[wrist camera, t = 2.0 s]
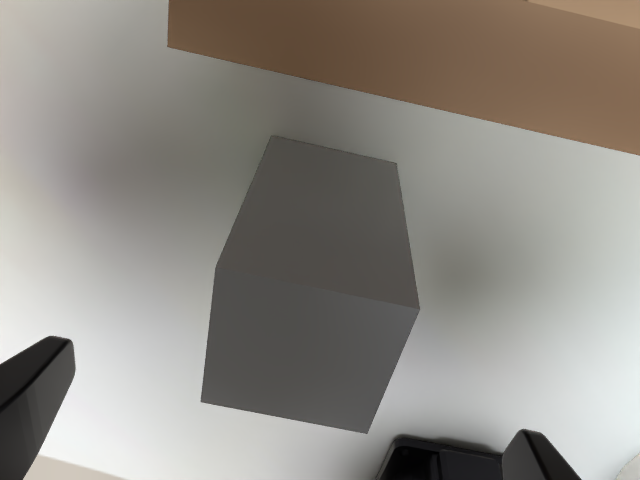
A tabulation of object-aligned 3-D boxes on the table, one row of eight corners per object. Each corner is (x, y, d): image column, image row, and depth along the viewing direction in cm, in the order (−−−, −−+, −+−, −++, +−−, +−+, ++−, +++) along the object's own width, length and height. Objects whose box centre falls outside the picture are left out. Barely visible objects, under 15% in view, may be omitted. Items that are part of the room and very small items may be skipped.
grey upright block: (364, 263, 17) (367, 433, 12) (254, 240, 17) (200, 401, 11) (396, 163, 15) (419, 309, 9) (271, 135, 15) (215, 266, 9)
